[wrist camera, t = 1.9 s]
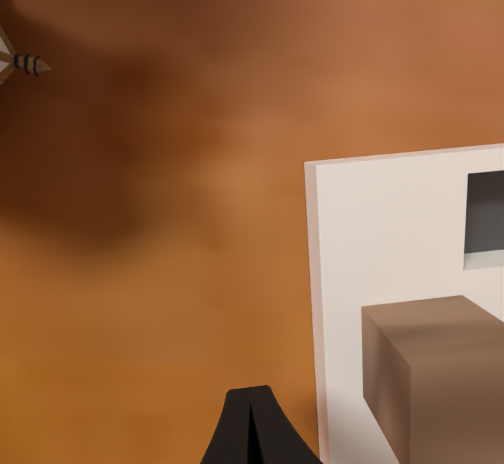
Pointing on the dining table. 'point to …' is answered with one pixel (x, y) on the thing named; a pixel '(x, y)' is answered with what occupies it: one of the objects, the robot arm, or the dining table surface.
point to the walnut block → (436, 379)
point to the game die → (17, 60)
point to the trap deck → (393, 264)
